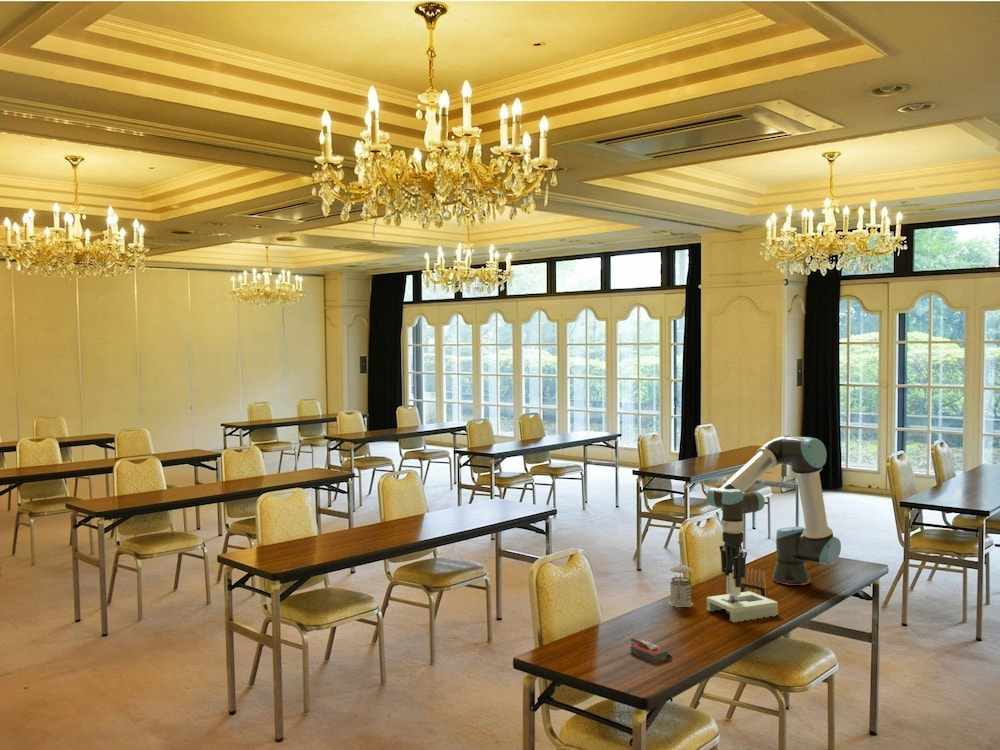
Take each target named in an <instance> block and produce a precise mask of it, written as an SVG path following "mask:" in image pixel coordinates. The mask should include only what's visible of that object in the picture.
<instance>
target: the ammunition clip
mask: <svg viewBox="0 0 1000 750" xmlns="http://www.w3.org/2000/svg"><path fill="white" fill-rule="evenodd" d="M766 579H767V578H766V572H765V570H764V569H763V570H762V569H758V570H757V568H755V569H754V568H753V567H751V569H750V568H749V567H748V566H747V567H746V570H745V577H744V578H741V587H740V592H747V591H750V592H753V593H756V594H758V595H761V596H763V597H766V598H768V588H767V580H766Z"/></svg>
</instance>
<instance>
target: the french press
mask: <svg viewBox="0 0 1000 750" xmlns="http://www.w3.org/2000/svg"><path fill="white" fill-rule="evenodd" d="M683 543H684V541H682V540H680V539H679V540H678V541H677V544H679V564H675V565H672V566H670V568H669V570H670V572H673V573H678V574H679V573H680V575H679V576H678V575H677V574H676V575H675V576H674V577H672V578H670V579H671V581H670V585H669V586H670V587H669V588H670V591H669V592H670V601H669V602H667V603H668V604H670V605H671V606H670V605H669V606H670V607H672V606H675V607H674V608H677V607H689V608H692V607H693V606H694V605H693V604H694V603H693V602H692V599H691V598H692V596H691V595H692V589H691V588H692V583H691V582H690V581H691V579H690V578H688V577H684V576H683V577H682V573H683V574H685V573H689V572H691V570H692V568H690V567H688V566H687V565H684V564H682V562H681V561H682V558H681V556H682V555H681V554H682V552H681V551H682V550H681V549H682V548H681V547H682V546H681V545H682V544H683ZM668 604H667V605H668ZM692 605H693V606H692ZM691 606H692V607H691Z"/></svg>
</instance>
